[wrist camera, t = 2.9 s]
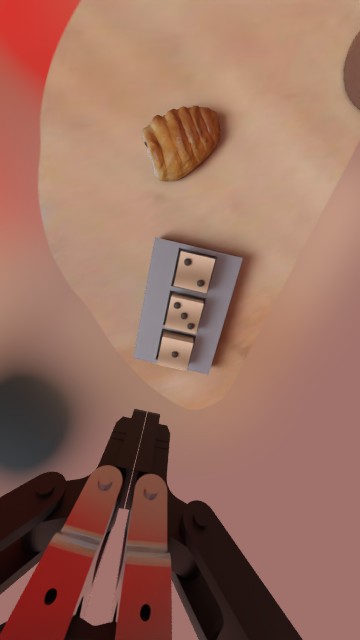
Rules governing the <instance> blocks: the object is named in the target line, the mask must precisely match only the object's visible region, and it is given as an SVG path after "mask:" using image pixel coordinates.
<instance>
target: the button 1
mask: <svg viewBox="0 0 360 640" xmlns="http://www.w3.org/2000/svg"><path fill="white" fill-rule="evenodd" d="M193 344H194V343H193V337H190V336H186V335H181V334H177V333H172V332H168V331H164V334H163V337H162V342H161V347H160V351H159V356H158V361H157V365H161V366H166V367H170V368H175V369H180V370H184V371H186V370H187V367H188V363H189V359H190V355H191V351H192V347H193Z"/></svg>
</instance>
